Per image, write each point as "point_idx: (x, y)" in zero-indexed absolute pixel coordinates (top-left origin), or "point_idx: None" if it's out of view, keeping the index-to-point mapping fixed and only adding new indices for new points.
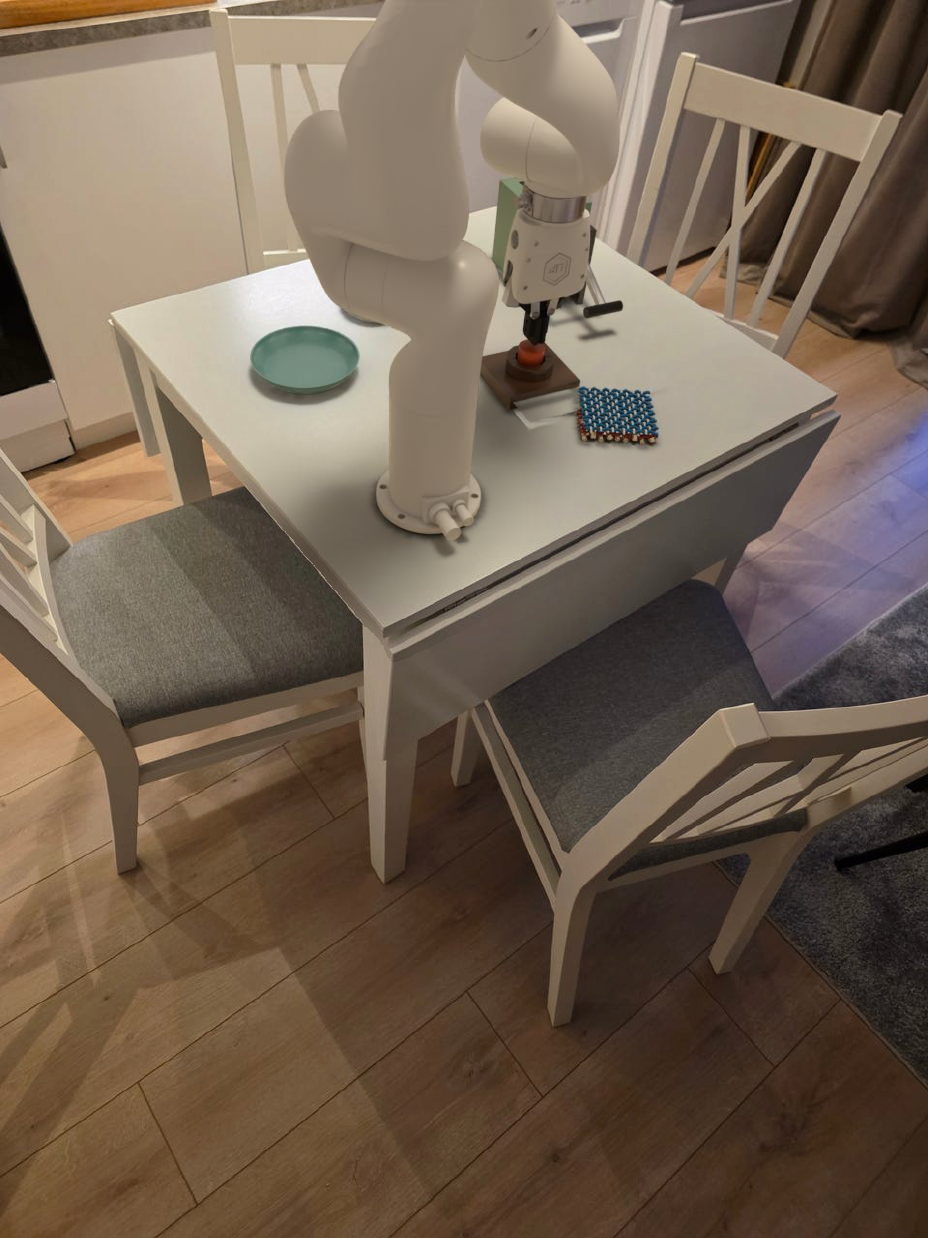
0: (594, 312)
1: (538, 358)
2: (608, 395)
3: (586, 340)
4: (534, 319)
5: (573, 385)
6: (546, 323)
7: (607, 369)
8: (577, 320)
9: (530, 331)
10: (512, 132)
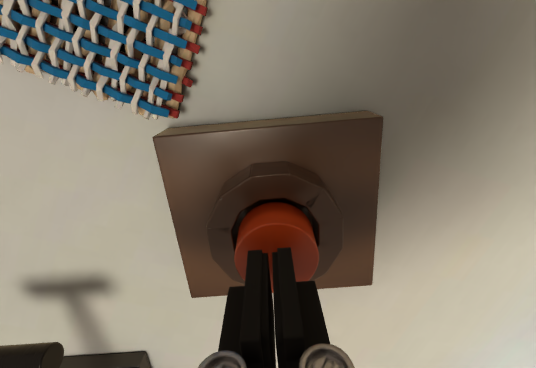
0: (25, 355)
1: (269, 213)
2: (84, 46)
3: (86, 297)
4: (307, 344)
5: (177, 131)
6: (250, 312)
7: (62, 198)
8: (88, 351)
9: (311, 296)
10: None
